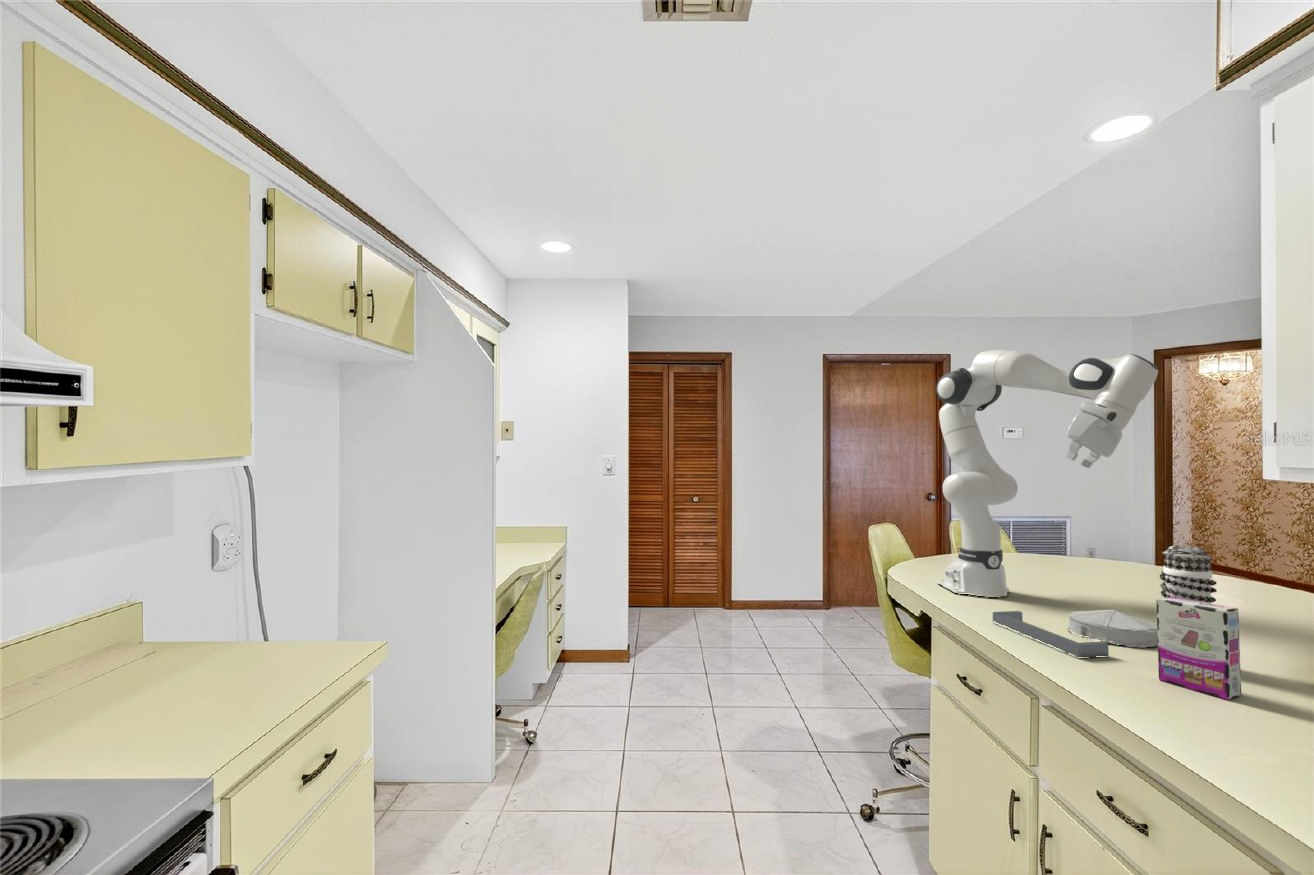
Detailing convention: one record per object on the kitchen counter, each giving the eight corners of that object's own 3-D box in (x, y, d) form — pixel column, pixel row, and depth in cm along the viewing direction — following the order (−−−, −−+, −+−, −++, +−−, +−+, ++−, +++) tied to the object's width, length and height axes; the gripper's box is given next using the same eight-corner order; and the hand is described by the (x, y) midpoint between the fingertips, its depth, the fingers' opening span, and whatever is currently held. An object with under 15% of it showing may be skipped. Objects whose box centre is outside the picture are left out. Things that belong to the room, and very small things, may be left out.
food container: (1045, 630, 154) (1045, 604, 154) (1101, 621, 160) (1101, 596, 160) (1127, 656, 135) (1126, 626, 135) (1187, 645, 141) (1186, 616, 141)
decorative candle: (1156, 663, 128) (1154, 547, 128) (1166, 653, 134) (1163, 542, 134) (1214, 675, 121) (1211, 552, 121) (1221, 665, 127) (1218, 547, 127)
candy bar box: (1242, 696, 111) (1240, 608, 111) (1229, 701, 109) (1227, 611, 109) (1170, 676, 121) (1168, 595, 121) (1157, 680, 119) (1155, 597, 119)
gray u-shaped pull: (992, 623, 157) (992, 612, 158) (1018, 622, 159) (1018, 610, 159) (1078, 659, 131) (1078, 645, 131) (1108, 657, 132) (1108, 643, 132)
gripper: (1111, 421, 161) (1081, 466, 164) (1079, 401, 150) (1048, 449, 153) (1136, 430, 156) (1105, 476, 159) (1105, 410, 145) (1073, 459, 148)
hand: (1077, 462), depth 156 cm, fingers open, 8 cm apart
